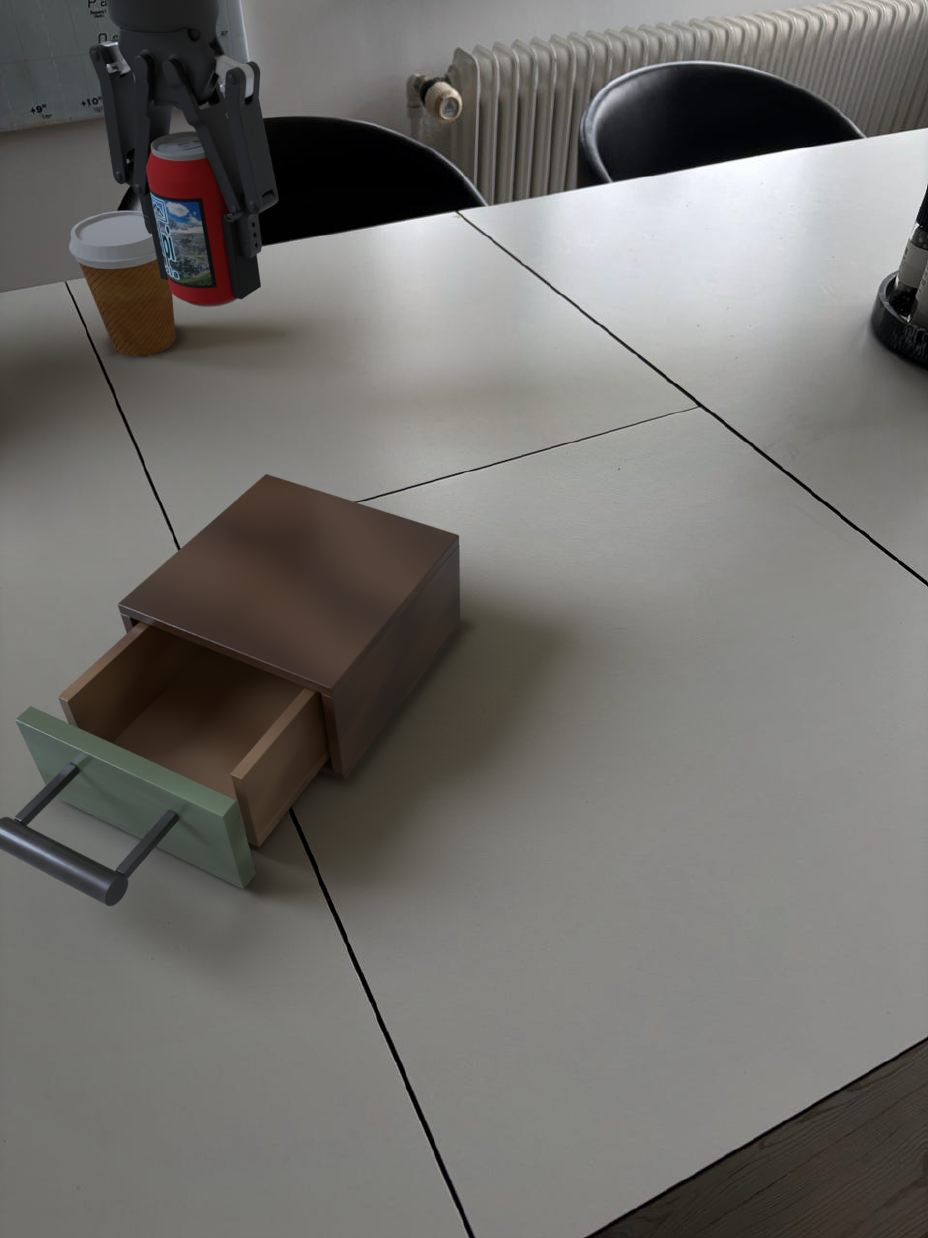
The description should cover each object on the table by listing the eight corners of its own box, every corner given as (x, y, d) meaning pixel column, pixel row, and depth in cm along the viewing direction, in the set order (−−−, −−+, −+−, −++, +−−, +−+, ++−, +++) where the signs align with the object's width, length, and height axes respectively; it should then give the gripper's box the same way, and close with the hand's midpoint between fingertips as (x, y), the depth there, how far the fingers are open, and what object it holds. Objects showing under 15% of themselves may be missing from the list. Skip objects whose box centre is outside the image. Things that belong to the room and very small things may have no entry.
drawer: (176, 978, 52) (147, 907, 47) (-26, 868, 57) (-70, 795, 52) (378, 715, 65) (370, 639, 60) (200, 644, 70) (181, 569, 65)
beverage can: (156, 290, 84) (125, 140, 76) (227, 269, 88) (204, 122, 79) (196, 320, 81) (167, 164, 72) (268, 296, 84) (249, 145, 76)
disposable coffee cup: (79, 358, 102) (44, 241, 93) (129, 316, 108) (101, 203, 100) (162, 372, 99) (135, 253, 91) (208, 328, 106) (186, 214, 98)
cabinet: (344, 783, 62) (331, 688, 56) (147, 698, 67) (116, 603, 62) (460, 628, 72) (459, 534, 66) (281, 565, 78) (265, 473, 72)
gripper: (4, -51, 68) (88, 275, 84) (240, -18, 62) (283, 327, 78) (82, -68, 73) (147, 242, 89) (308, -40, 67) (335, 289, 83)
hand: (210, 281), depth 83 cm, fingers closed on beverage can, 7 cm apart
